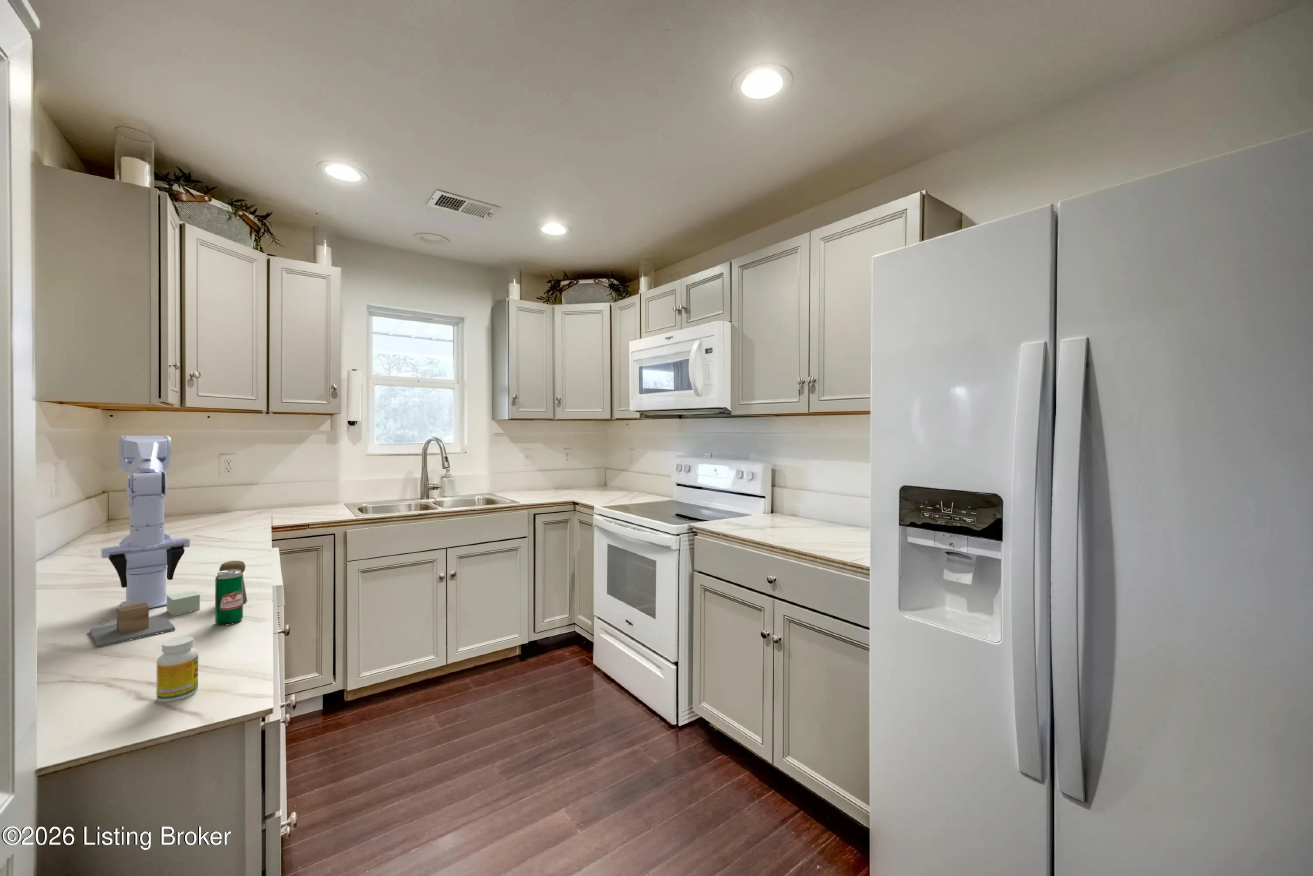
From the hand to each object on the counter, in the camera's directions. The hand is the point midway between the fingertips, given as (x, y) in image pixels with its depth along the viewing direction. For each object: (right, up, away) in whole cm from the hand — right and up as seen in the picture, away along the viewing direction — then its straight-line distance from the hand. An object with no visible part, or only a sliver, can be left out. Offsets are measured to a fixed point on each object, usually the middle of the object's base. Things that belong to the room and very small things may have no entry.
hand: (147, 582), depth 121 cm
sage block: (+1, -9, +8) cm, 13 cm away
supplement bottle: (+35, -12, -30) cm, 47 cm away
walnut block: (+1, -9, -5) cm, 10 cm away
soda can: (+17, -10, +2) cm, 20 cm away
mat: (+1, -10, -5) cm, 11 cm away
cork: (+9, -9, +14) cm, 19 cm away
